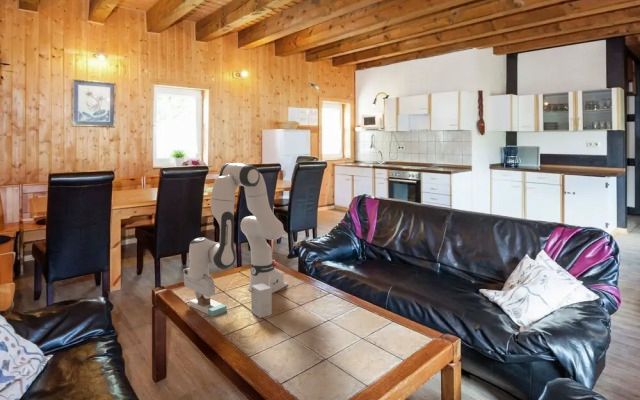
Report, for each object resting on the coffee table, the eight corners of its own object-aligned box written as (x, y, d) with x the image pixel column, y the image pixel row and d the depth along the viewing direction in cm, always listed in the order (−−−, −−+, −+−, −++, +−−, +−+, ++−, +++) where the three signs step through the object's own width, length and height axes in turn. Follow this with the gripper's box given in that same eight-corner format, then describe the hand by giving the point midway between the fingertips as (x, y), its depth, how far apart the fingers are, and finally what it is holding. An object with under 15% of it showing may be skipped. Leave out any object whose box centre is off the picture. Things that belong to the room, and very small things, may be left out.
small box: (272, 314, 189) (272, 287, 187) (260, 318, 185) (260, 290, 183) (262, 309, 195) (262, 282, 193) (250, 312, 191) (250, 285, 189)
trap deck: (203, 300, 203) (203, 295, 203) (226, 310, 192) (226, 305, 191) (189, 305, 197) (189, 300, 197) (212, 316, 186) (212, 311, 185)
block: (205, 302, 195) (205, 295, 195) (210, 304, 193) (210, 297, 192) (198, 304, 192) (197, 297, 192) (203, 306, 190) (202, 300, 189)
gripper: (218, 275, 189) (218, 304, 191) (192, 266, 202) (193, 293, 204) (206, 279, 184) (207, 308, 186) (181, 269, 197) (181, 296, 199)
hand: (199, 300), depth 195 cm, fingers closed
